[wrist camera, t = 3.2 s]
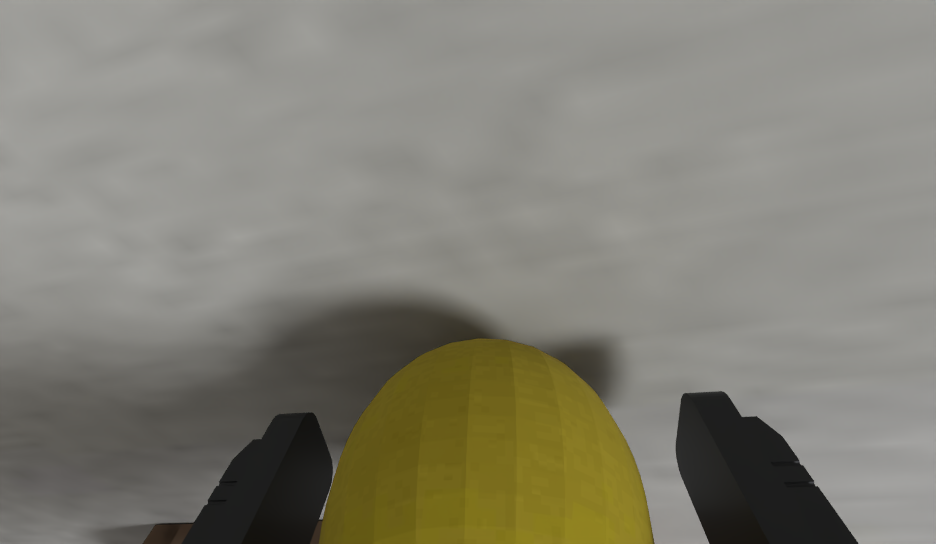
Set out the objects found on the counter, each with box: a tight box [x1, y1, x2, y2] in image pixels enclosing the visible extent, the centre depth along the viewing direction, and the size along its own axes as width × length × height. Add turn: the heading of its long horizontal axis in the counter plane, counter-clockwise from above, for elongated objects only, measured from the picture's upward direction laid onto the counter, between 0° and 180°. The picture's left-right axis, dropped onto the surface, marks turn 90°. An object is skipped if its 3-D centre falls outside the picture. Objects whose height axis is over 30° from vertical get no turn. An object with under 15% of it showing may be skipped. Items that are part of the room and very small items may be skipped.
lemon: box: [319, 338, 654, 544], centre depth 8 cm, size 6×6×8 cm
